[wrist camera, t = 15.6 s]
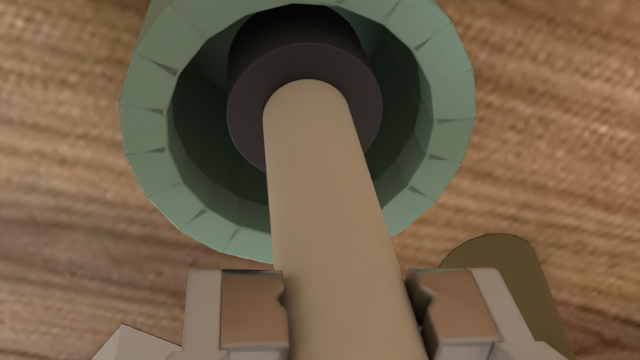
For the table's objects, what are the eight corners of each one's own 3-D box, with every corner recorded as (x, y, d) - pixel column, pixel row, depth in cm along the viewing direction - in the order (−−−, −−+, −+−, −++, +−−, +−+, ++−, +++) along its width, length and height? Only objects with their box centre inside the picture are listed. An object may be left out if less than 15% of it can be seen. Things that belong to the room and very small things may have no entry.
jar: (166, 107, 26) (134, 264, 18) (153, -135, 21) (101, -64, 13) (377, 115, 28) (434, 264, 20) (417, -110, 22) (519, -31, 14)
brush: (226, 122, 18) (211, 840, 6) (228, -6, 16) (211, 737, 4) (353, 127, 19) (561, 788, 7) (372, 3, 17) (734, 671, 5)
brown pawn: (556, 264, 35) (664, 438, 26) (478, 321, 37) (552, 499, 28) (495, 216, 32) (592, 392, 23) (414, 281, 35) (475, 464, 26)
